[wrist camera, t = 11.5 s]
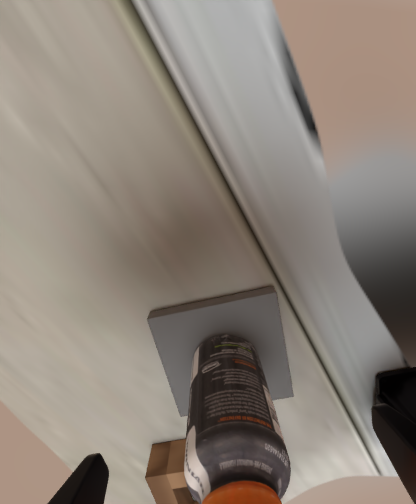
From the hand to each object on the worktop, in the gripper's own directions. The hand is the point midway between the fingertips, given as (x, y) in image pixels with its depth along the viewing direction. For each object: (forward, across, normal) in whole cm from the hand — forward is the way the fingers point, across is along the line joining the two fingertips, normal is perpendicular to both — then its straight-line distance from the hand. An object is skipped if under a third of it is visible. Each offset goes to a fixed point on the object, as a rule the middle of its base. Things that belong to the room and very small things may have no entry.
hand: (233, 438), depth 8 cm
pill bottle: (+12, +1, +7) cm, 14 cm away
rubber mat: (+13, +1, +7) cm, 15 cm away
